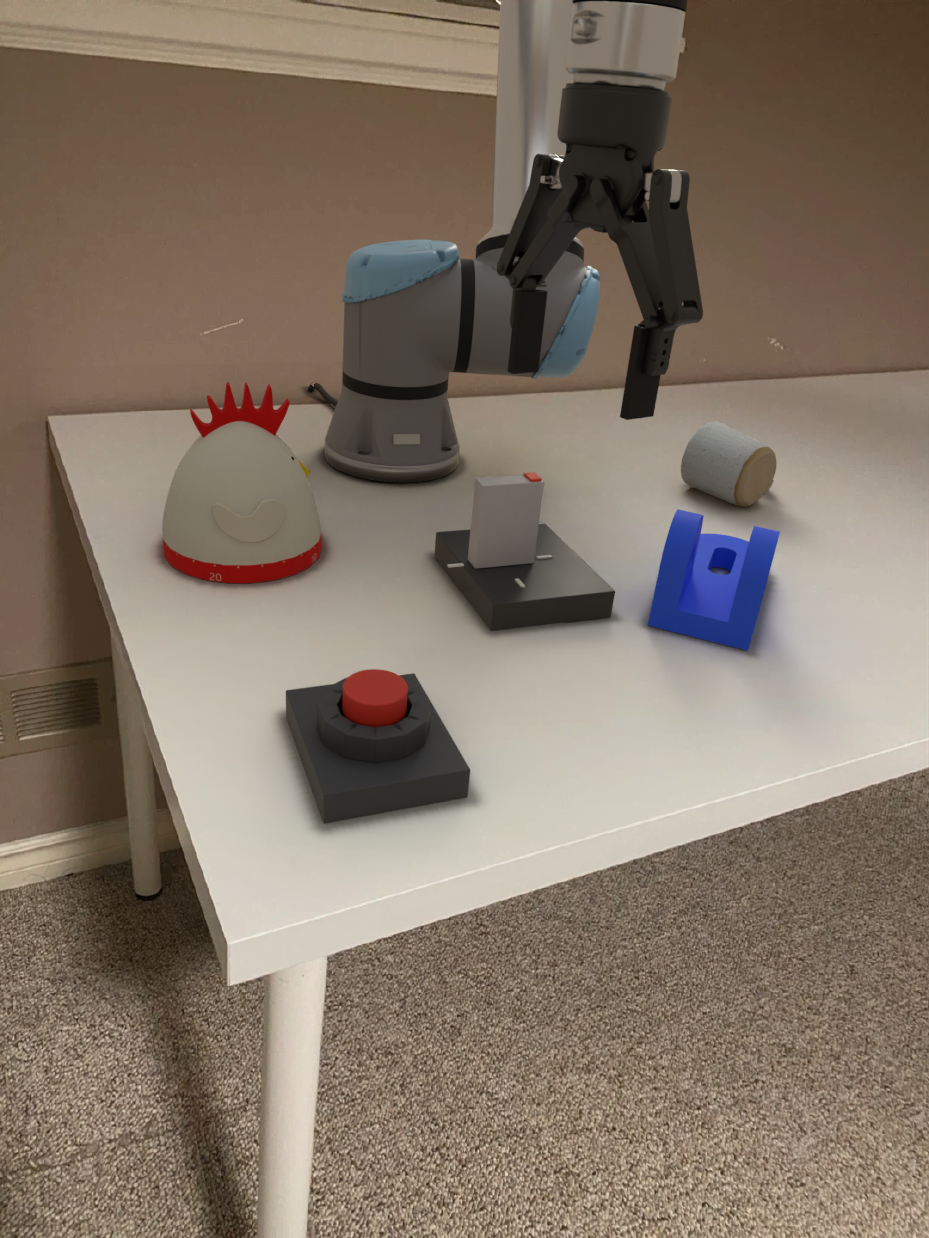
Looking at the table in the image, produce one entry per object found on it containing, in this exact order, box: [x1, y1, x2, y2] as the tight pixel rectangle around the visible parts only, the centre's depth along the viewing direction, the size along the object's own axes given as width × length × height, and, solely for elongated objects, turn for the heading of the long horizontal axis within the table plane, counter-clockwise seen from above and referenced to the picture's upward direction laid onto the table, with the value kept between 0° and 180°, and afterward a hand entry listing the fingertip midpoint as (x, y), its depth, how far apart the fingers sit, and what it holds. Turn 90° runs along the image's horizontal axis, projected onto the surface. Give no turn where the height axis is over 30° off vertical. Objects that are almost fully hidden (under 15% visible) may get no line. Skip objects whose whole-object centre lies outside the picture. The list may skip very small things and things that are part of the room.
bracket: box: [647, 509, 781, 652], centre depth 83 cm, size 18×8×9 cm, turn 159°
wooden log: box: [680, 420, 777, 507], centre depth 106 cm, size 11×8×8 cm
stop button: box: [342, 668, 408, 727], centre depth 59 cm, size 4×4×2 cm
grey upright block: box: [468, 471, 545, 569], centre depth 80 cm, size 6×2×8 cm, turn 111°
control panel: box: [433, 523, 616, 632], centre depth 83 cm, size 14×12×3 cm
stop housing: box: [285, 672, 471, 824], centre depth 60 cm, size 11×9×4 cm
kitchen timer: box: [161, 381, 323, 584], centre depth 82 cm, size 14×14×15 cm
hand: (576, 393), depth 74 cm, fingers open, 13 cm apart
